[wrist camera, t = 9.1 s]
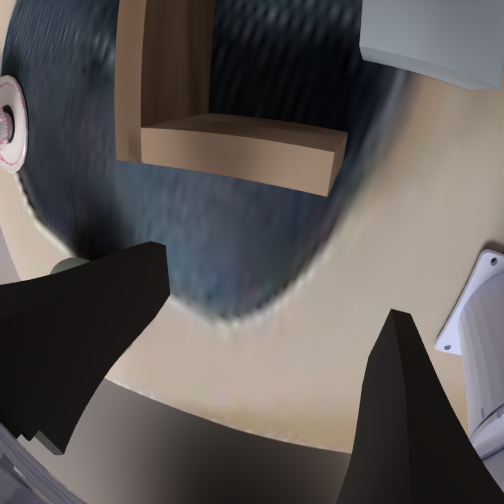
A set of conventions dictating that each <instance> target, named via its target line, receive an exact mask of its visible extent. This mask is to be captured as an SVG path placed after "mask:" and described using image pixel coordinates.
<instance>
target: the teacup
mask: <svg viewBox="0 0 504 504" xmlns="http://www.w3.org/2000/svg"><path fill="white" fill-rule="evenodd" d="M5 105H9V106H10V107H11V109H12V112H13V114H14V120H15V135H14V139H13V141H12V142H11V143H7V141H8V140H9V139H10V138H11V136H12V132H13V124H12V119H11V116H10V114H9V113H6V112H4V111H3V109H2V108H3V107H4V106H5ZM27 144H28V119H27V111H26V105H25V99H24V96H23V93H22V90H21V87H20V85H19V84H18V82H17V81H16V79H15V78H14V77H12V76H10V75H6V76H3V77H0V165H1V167H2V168H3V169H4V170H5V171H6V172H10V173H14V172H16V171H18V170H20V168H21V166H22V165H23V163H24V161H25V156H26V152H27Z"/></svg>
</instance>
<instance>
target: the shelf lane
mask: <svg viewBox="0 0 504 504" xmlns="http://www.w3.org/2000/svg"><path fill="white" fill-rule="evenodd" d="M215 6H216V0H120V4H119V14H118V25H117V38H116V56H115V134H116V154H117V160H122V161H131V162H139V163H146V164H154V165H161V166H168V167H175V168H181V169H188V170H194V171H200V172H207V173H212V174H218V175H224V176H230V177H235V178H241V179H246V180H251V181H256V182H261V183H266V184H271V185H276V186H281V187H286V188H291V189H295V190H300V191H304V192H309V193H313V194H318V195H322V196H326V197H327V196H328V193H329V191H330V189H331V187H332V185H333V183H334V181H335V178H336V176H337V174H338V172H339V170H340V168H341V166H342V163H343V160H344V154H345V148H346V142H347V136H348V133H347V132H343V131H338V130H333V129H328V128H322V127H317V126H311V125H305V124H299V123H293V122H287V121H280V120H273V119H265V118H257V117H248V116H239V115H228V114H216V113H208V106H209V87H210V70H211V55H212V41H213V29H214V17H215Z"/></svg>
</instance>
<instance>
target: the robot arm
mask: <svg viewBox="0 0 504 504" xmlns="http://www.w3.org/2000/svg"><path fill="white" fill-rule="evenodd" d="M493 258H496V260H495V261H494V262H491V260H492V259H493ZM169 295H170V287H169V277H168V266H167V255H166V245H162V244H159V243H156V242H152V241H150V242H146V243H142V244H139V245H135V246H132V247H129V248H127V249H124V250H121V251H118V252H115V253H112V254H110V255H107V256H104V257H101V258H99V259H96V260H93V261H90V262H87V263H84V264H82V265H79V266H76V267H73V268H70V269H67V270H64V271H61V272H57V273H54V274H50V275H47V276H43V277H39V278H35V279H30V280H25V281H20V282H15V283H9V284H3V285H0V504H52V503H53V504H88V503H87V502H85V501H84V500H83V499H82V498H80V497H79V496H78V495H76V494H75V493H74V492H73V491H71V490H70V489H69V488H68V487H66V486H65V485H64V484H63V483H61V482H60V481H59V480H58V479H57V478H56V477H55V476H53V475H52V474H51V473H50V472H49V471H48V470H47V469H46V468H45V467H43V466H42V465H41V464H40V463H39V462H38V461H37V460H36V459H35V458H34V457H33V456H32V455H31V454H30V453H29V452H28V451H27V450H26V449H25V448H24V447H23V446H22V445H21V444H20V443H19V442H18V441H17V440H16V439H17V438H18V437H19V436H20V435H21V434H22V435H23V436H24V437H25V438H26V439H27V440H28V441H30V440H31V439H32V438H33V437H35V438H37V439H38V440H39V441H40V442H41V443H42V444H43V445H44V446H45V447H46V448H47V449H48V450H49V451H51V452H52V453H53V454H54V455H63V454H64V453H65V450H66V447H67V445H68V443H69V440H70V438H71V436H72V433H73V431H74V429H75V427H76V424H77V423H78V421H79V419H80V417H81V415H82V413H83V411H84V409H85V407H86V406H87V404H88V402H89V401H90V399H91V397H92V396H93V394H94V392H95V391H96V389H97V388H98V386H99V385H100V383H101V382H102V380H103V379H104V377H105V376H106V374H107V373H108V371H109V370H110V368H111V367H112V366H113V365H114V363H115V362H116V361H117V360H118V359H119V357H120V356H121V355H122V354H123V353H124V352H125V351H126V349H127V348H128V347H129V346H130V345H131V344H132V343H133V342H134V341H135V339H136V338H137V337H138V336H139V335H140V334H141V333H142V332H143V330H144V329H145V328H146V327H147V326H148V325H149V324H150V322H151V321H152V320H153V319H154V318H155V317H156V315H157V314H158V312H159V311H160V309H161V308H162V306H163V305H164V303H165V302H166V300H167V299H168V297H169ZM446 345H449V346H446ZM435 348H436V350H439V351H443V352H448V353H452V354H457V355H461V356H462V362H463V369H464V377H465V386H466V396H467V408H468V425H469V438H468V437H467V435H466V433H465V431H464V429H463V427H462V425H461V424H460V422H459V420H458V418H457V416H456V414H455V412H454V410H453V409H452V407H451V405H450V402H449V400H448V398H447V396H446V394H445V392H444V390H443V388H442V386H441V383H440V381H439V379H438V377H437V374H436V372H435V370H434V367H433V365H432V363H431V361H430V358H429V356H428V354H427V351H426V349H425V346H424V344H423V342H422V339H421V337H420V335H419V332H418V330H417V327H416V325H415V323H414V321H413V318H412V316H411V314H409V313H406V312H402V311H398V310H394V309H391V310H390V312H389V315H388V317H387V319H386V321H385V324H384V326H383V328H382V330H381V332H380V334H379V336H378V339H377V341H376V343H375V345H374V347H373V349H372V351H371V353H370V355H369V357H368V362H367V367H366V371H365V375H364V380H363V384H362V391H361V399H360V406H359V414H358V421H357V427H356V434H355V440H354V446H353V451H352V455H351V459H350V464H349V467H348V470H347V473H346V476H345V479H344V482H343V485H342V488H341V491H340V493H339V496H338V499H337V501H336V504H504V254H502V253H499V252H496V251H493V250H490V249H485V250H483V251H482V252H481V253H480V255H479V258H478V260H477V262H476V265H475V267H474V269H473V271H472V273H471V276H470V278H469V280H468V282H467V284H466V286H465V288H464V290H463V292H462V294H461V296H460V298H459V300H458V302H457V304H456V306H455V308H454V309H453V311H452V313H451V315H450V317H449V319H448V320H447V322H446V324H445V326H444V328H443V329H442V331H441V333H440V334H439V336H438V338H437V339H436V341H435ZM14 466H15V467H16V468H17V469H18V470H19V471H20V472H21V473H22V474H23V475H24V476H25V477H26V478H24V477H23V476H22V475H20V474H19V473H18V472H16V471H15V470H14Z"/></svg>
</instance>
